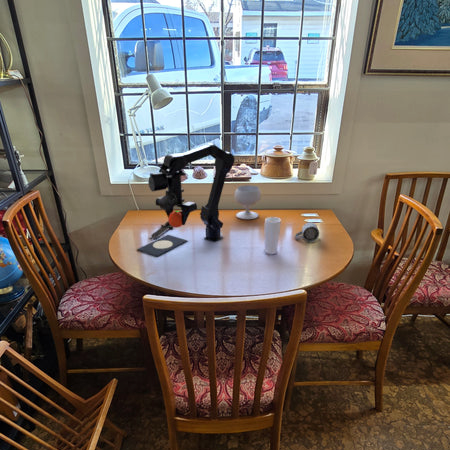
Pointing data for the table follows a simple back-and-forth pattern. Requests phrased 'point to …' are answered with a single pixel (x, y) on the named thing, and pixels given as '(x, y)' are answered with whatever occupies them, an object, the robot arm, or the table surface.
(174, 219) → the clementine
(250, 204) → the chalice
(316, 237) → the ceramic mug
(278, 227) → the drinking glass
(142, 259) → the table surface
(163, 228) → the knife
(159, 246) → the placemat
